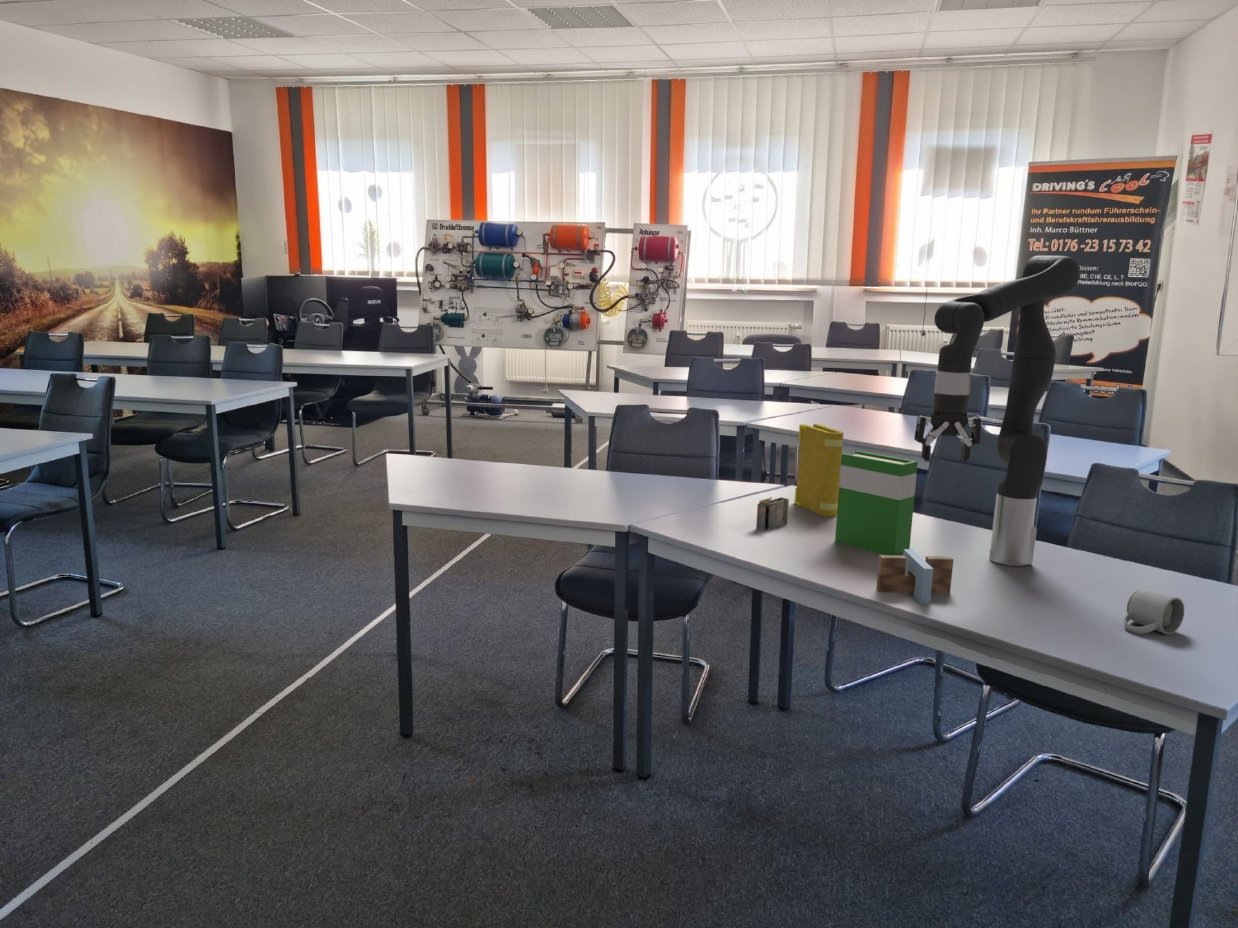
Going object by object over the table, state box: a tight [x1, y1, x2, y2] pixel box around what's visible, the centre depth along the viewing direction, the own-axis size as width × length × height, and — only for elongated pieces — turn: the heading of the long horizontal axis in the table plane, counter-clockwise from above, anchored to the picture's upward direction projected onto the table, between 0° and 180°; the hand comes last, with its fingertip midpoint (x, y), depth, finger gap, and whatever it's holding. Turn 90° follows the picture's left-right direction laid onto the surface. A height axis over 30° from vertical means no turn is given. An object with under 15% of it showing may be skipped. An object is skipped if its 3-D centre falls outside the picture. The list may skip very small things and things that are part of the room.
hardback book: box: [834, 450, 918, 556], centre depth 230 cm, size 18×7×24 cm, turn 43°
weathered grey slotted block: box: [755, 496, 790, 531], centre depth 249 cm, size 11×3×10 cm, turn 135°
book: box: [794, 423, 844, 517], centre depth 267 cm, size 17×7×25 cm, turn 17°
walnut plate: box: [876, 554, 954, 594], centre depth 198 cm, size 16×2×8 cm, turn 90°
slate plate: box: [902, 548, 933, 605], centre depth 197 cm, size 14×2×8 cm, turn 0°
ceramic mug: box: [1123, 589, 1185, 635], centre depth 180 cm, size 11×8×8 cm
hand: (944, 461), depth 203 cm, fingers open, 8 cm apart
